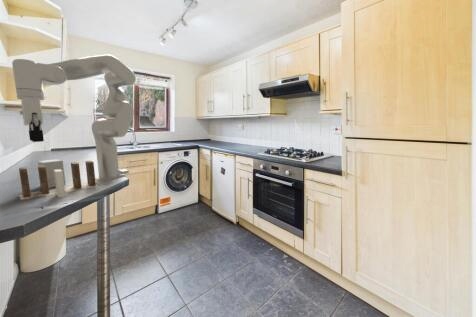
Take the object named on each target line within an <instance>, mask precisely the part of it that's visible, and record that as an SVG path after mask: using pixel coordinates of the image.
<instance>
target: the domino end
mask: <svg viewBox="0 0 476 317" xmlns="http://www.w3.org/2000/svg"><path fill="white" fill-rule="evenodd" d="M18 171H19V178H20V183H21V184H20V185H21V191H22V194H23V197H24V198H26V197H31V194H30V193H31V187H30V181H29V174H28V169H27V166H25V167H24V166H23V167H18Z"/></svg>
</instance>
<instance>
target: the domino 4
mask: <svg viewBox="0 0 476 317" xmlns="http://www.w3.org/2000/svg"><path fill="white" fill-rule="evenodd" d="M84 162H85V170H86V178H87V179H86V180H87V184H88V185H89V186H96V184H97V183H96V179H95V178H96V176H95V175H96V173H95V164H94V161H92V160H87V161H86V160H85V161H84Z"/></svg>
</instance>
